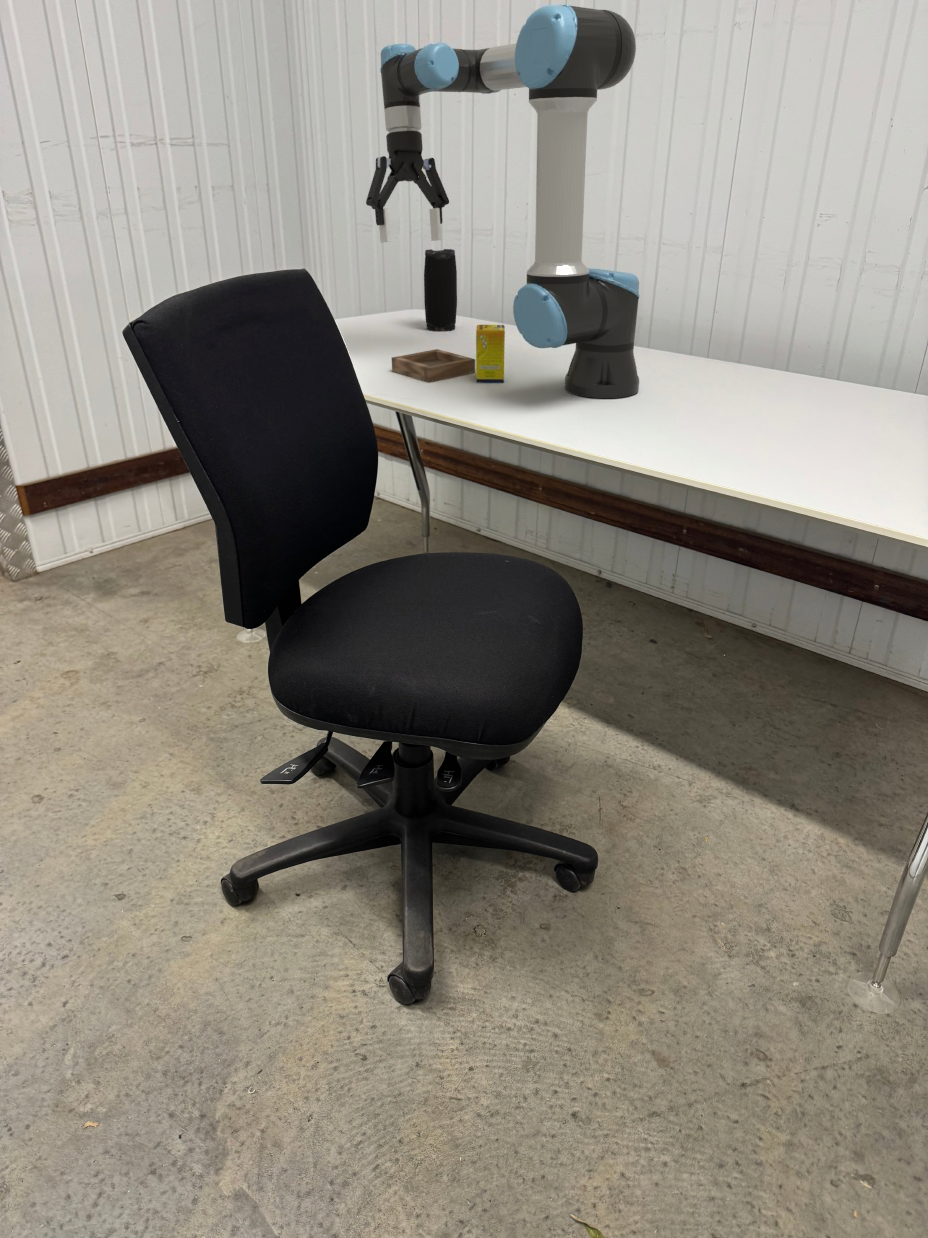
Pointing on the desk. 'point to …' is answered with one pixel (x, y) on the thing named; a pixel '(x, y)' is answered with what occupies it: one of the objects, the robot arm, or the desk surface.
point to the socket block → (433, 365)
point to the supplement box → (490, 353)
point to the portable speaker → (440, 289)
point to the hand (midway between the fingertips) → (411, 241)
